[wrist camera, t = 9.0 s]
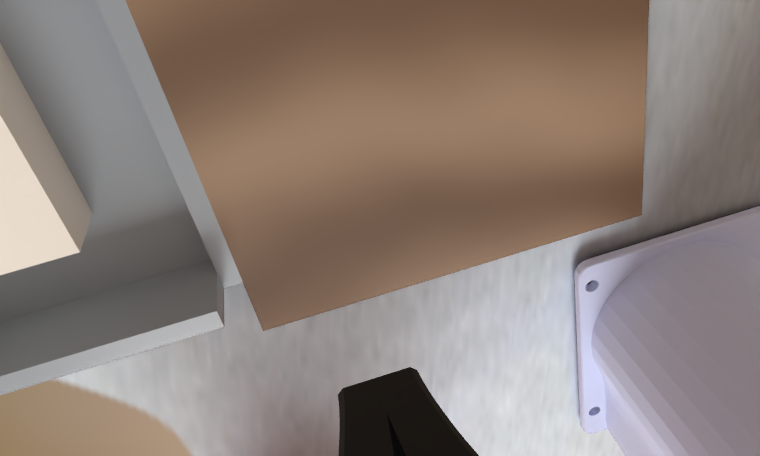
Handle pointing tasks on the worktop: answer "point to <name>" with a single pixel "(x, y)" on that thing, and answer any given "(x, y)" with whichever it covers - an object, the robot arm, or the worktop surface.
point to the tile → (34, 185)
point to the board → (400, 133)
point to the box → (108, 201)
